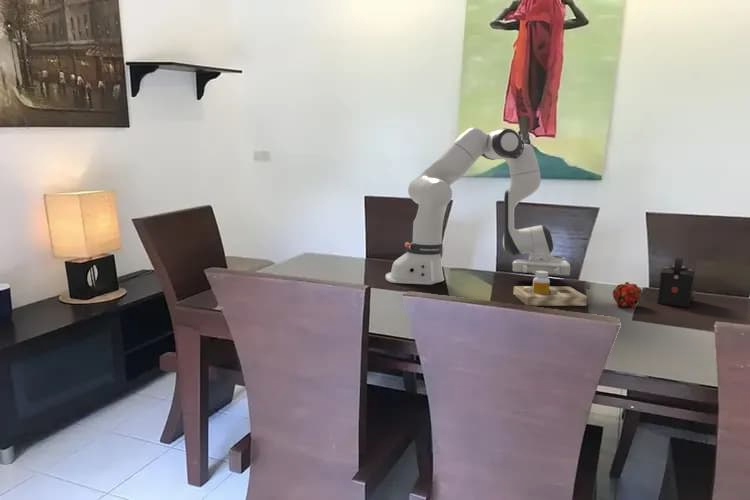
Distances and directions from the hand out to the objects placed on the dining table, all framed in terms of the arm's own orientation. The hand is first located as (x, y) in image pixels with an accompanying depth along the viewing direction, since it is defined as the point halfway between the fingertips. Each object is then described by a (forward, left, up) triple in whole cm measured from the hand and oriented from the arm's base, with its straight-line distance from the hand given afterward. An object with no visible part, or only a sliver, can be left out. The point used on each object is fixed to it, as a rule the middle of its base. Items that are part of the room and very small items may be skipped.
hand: (541, 271), depth 201 cm
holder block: (-1, -11, -8) cm, 13 cm away
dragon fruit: (+22, -19, -8) cm, 30 cm away
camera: (+43, -13, -8) cm, 46 cm away
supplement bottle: (-4, -10, -8) cm, 14 cm away
